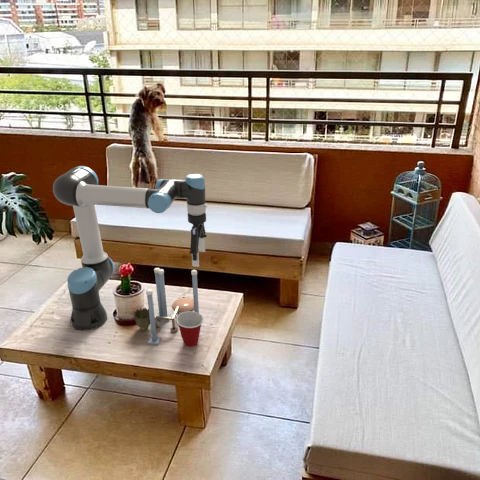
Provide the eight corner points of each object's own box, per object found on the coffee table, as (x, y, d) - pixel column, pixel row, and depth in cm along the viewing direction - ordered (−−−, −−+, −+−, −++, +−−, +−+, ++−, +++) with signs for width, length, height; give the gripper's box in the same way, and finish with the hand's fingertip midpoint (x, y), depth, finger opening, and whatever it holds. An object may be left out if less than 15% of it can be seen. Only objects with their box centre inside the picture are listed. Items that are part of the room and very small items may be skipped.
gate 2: (200, 322, 194) (197, 273, 183) (156, 319, 196) (150, 271, 185) (202, 316, 197) (199, 269, 187) (158, 313, 199) (153, 266, 189)
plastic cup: (201, 352, 175) (199, 327, 170) (174, 349, 177) (172, 325, 172) (207, 335, 185) (206, 311, 180) (182, 333, 187) (180, 309, 182)
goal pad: (169, 311, 201) (169, 310, 201) (175, 298, 211) (175, 297, 211) (193, 312, 200) (193, 311, 200) (198, 299, 210) (198, 298, 209)
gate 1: (148, 344, 180) (142, 293, 170) (162, 315, 198) (157, 268, 188) (158, 344, 180) (152, 293, 170) (171, 316, 198) (166, 268, 187)
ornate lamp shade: (151, 333, 186) (149, 318, 183) (133, 333, 187) (131, 317, 183) (154, 323, 193) (153, 307, 190) (137, 323, 193) (135, 307, 190)
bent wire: (152, 331, 188) (151, 318, 185) (160, 315, 198) (158, 303, 196) (176, 332, 187) (175, 320, 184) (183, 316, 197) (182, 304, 194)
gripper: (199, 224, 169) (202, 273, 178) (211, 201, 191) (212, 246, 201) (180, 224, 170) (183, 272, 179) (193, 201, 192) (196, 245, 201)
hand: (198, 258), depth 190 cm, fingers open, 13 cm apart
